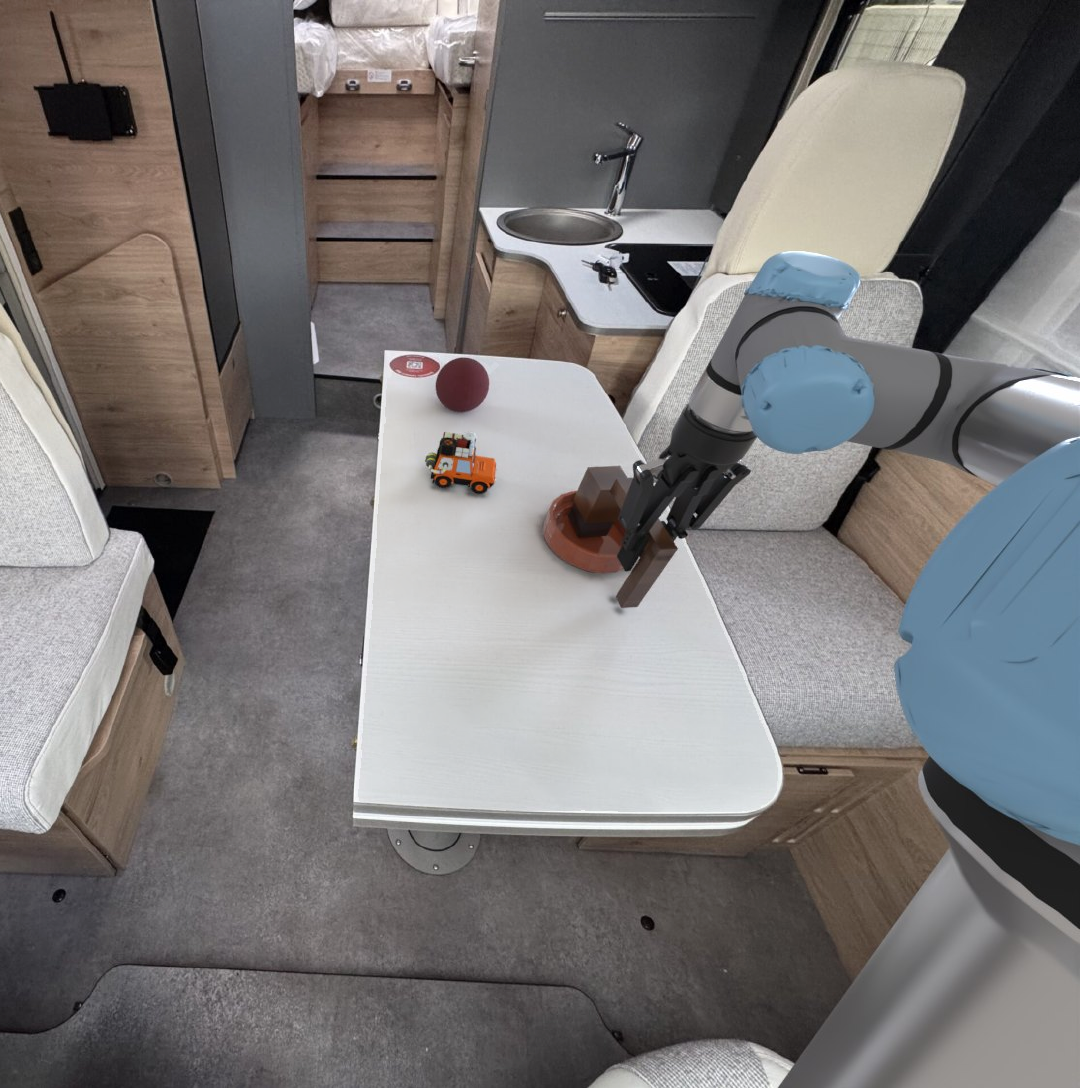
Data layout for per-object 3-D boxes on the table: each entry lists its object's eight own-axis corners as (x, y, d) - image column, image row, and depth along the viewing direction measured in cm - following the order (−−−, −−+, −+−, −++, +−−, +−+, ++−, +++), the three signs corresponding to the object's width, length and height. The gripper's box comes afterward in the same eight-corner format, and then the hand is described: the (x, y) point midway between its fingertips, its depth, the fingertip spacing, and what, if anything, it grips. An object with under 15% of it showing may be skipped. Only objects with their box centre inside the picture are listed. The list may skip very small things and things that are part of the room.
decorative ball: (472, 428, 107) (483, 381, 100) (423, 412, 110) (430, 364, 103) (490, 403, 113) (502, 357, 106) (444, 388, 116) (452, 342, 109)
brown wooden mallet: (646, 606, 79) (688, 547, 70) (612, 608, 79) (649, 550, 70) (595, 513, 91) (626, 453, 82) (565, 515, 90) (592, 455, 81)
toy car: (424, 461, 100) (431, 419, 94) (493, 471, 99) (505, 429, 93) (420, 487, 95) (428, 444, 89) (493, 498, 94) (505, 455, 88)
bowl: (652, 572, 85) (664, 554, 82) (561, 578, 83) (569, 560, 80) (612, 506, 94) (622, 488, 91) (529, 510, 93) (536, 492, 90)
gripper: (671, 440, 57) (590, 588, 74) (814, 434, 58) (702, 580, 75) (638, 397, 62) (569, 545, 79) (770, 393, 63) (674, 539, 80)
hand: (634, 562), depth 77 cm, fingers closed on brown wooden mallet, 2 cm apart
